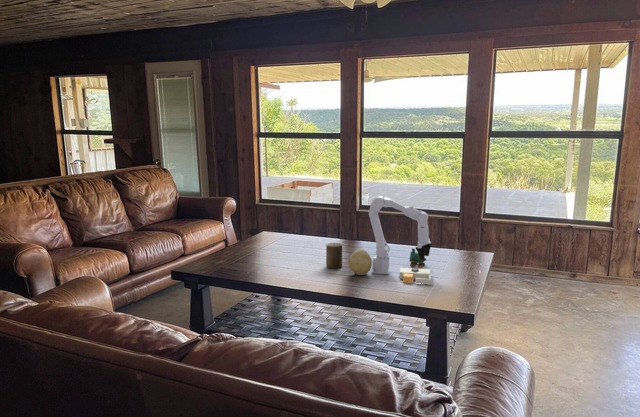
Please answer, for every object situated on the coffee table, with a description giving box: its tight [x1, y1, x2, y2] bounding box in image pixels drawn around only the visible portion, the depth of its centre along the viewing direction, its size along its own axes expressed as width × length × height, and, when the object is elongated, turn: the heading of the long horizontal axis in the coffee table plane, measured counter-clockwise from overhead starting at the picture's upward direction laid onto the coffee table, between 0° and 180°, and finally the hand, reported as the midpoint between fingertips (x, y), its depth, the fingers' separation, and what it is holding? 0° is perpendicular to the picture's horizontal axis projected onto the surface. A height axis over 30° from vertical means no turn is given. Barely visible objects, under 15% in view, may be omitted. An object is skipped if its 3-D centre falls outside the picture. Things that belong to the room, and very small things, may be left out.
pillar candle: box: [325, 242, 343, 270], centre depth 275 cm, size 10×10×15 cm
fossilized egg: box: [348, 248, 373, 276], centre depth 260 cm, size 13×13×15 cm
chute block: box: [402, 273, 414, 283], centre depth 251 cm, size 5×5×4 cm
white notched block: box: [399, 267, 432, 285], centre depth 253 cm, size 16×16×4 cm
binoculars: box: [409, 248, 427, 268], centre depth 277 cm, size 9×11×10 cm
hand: (424, 257), depth 257 cm, fingers open, 7 cm apart
